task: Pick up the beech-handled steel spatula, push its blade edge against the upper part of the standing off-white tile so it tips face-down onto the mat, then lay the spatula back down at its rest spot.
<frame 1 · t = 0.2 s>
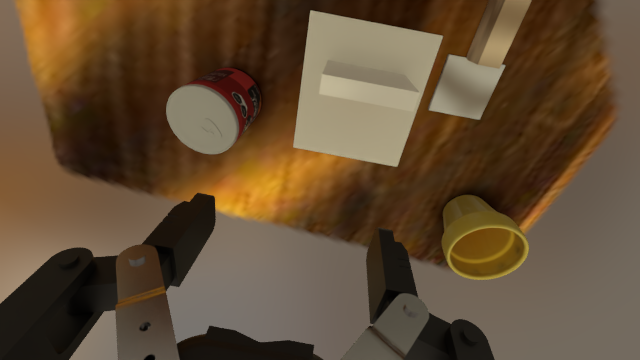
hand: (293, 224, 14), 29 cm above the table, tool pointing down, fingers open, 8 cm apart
canned food: (236, 95, 40), on the table
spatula: (494, 15, 33), on the table
mat: (359, 97, 39), on the table
plant pot: (462, 210, 47), on the table
tile: (364, 75, 37), resting on mat
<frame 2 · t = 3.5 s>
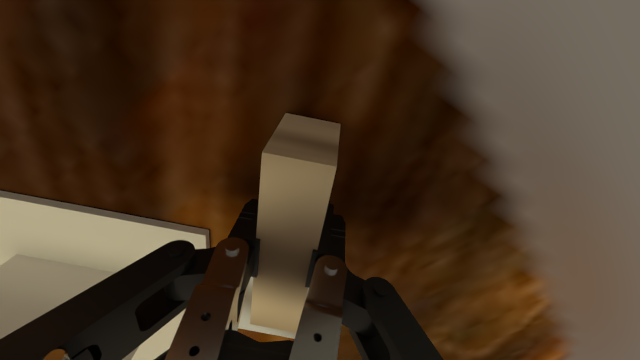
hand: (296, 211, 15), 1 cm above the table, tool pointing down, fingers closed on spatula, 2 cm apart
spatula: (298, 205, 15), on the table, touching gripper
mat: (109, 298, 22), on the table
tile: (94, 277, 20), resting on mat
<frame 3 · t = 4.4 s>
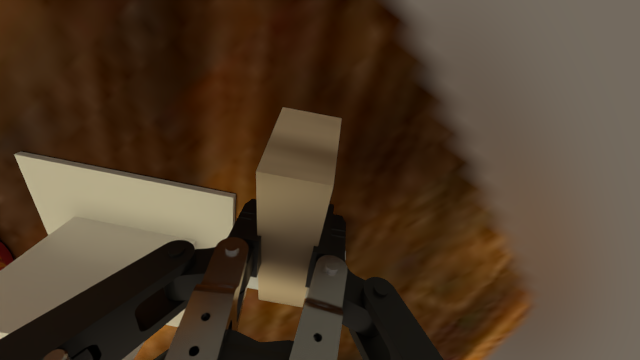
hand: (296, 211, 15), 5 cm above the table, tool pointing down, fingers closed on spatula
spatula: (300, 192, 15), point 4 cm above the table, tilted 14°, touching gripper
mat: (145, 258, 26), on the table
tile: (137, 237, 24), resting on mat
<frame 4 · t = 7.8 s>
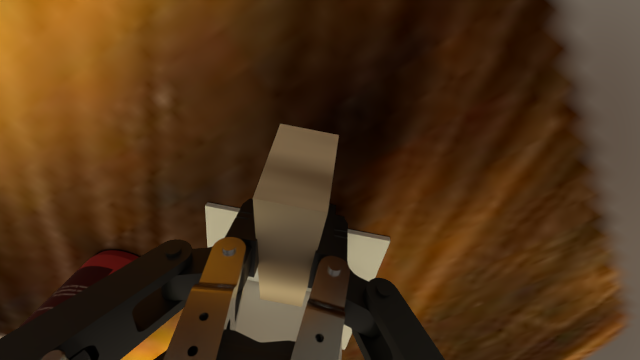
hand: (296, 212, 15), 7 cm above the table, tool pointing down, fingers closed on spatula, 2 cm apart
canned food: (131, 272, 31), on the table
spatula: (299, 199, 16), point 6 cm above the table, tilted 17°, touching gripper
mat: (287, 285, 29), on the table
tile: (290, 270, 27), resting on mat
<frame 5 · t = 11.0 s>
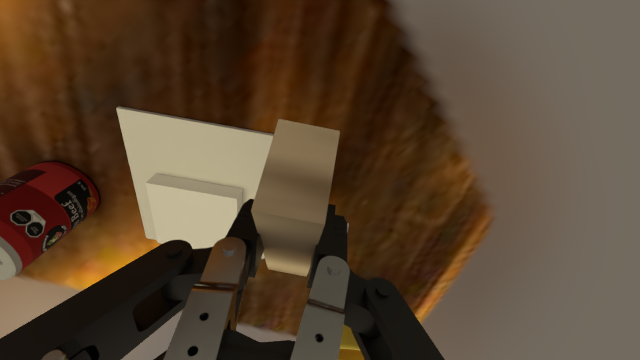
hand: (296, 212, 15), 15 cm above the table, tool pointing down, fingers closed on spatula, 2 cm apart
canned food: (70, 186, 36), on the table
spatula: (303, 182, 16), point 14 cm above the table, tilted 29°, touching gripper
mat: (202, 191, 34), on the table
plant pot: (350, 298, 42), on the table
tile: (195, 185, 32), point 2 cm above the table, tilted 90°, touching mat
when the fingers open (2 cm above the table, at t = 13.8 s): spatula drops 2 cm, on the table.
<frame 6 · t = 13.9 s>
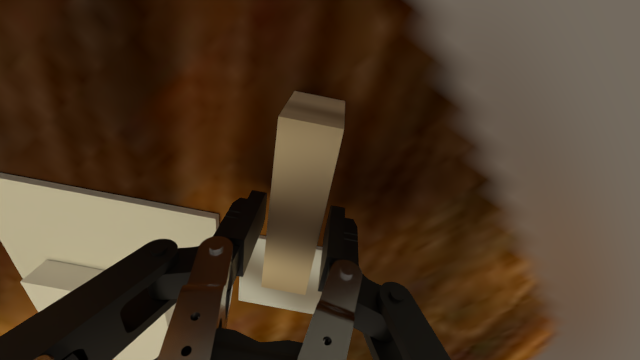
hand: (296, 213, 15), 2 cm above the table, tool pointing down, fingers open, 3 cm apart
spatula: (305, 179, 17), on the table
mat: (122, 282, 23), on the table
tile: (102, 283, 21), point 2 cm above the table, tilted 90°, touching mat
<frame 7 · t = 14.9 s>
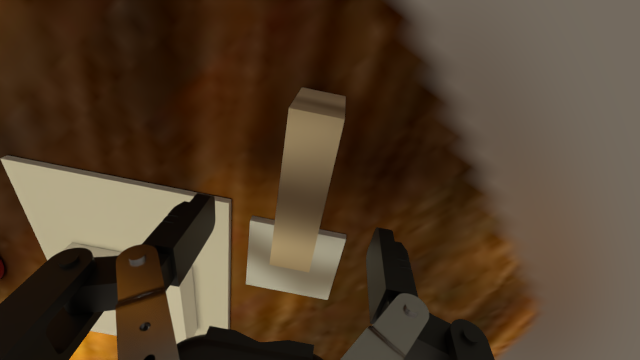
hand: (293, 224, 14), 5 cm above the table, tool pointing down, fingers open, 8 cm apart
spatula: (309, 168, 18), on the table
mat: (139, 264, 25), on the table
tile: (123, 263, 22), point 2 cm above the table, tilted 90°, touching mat
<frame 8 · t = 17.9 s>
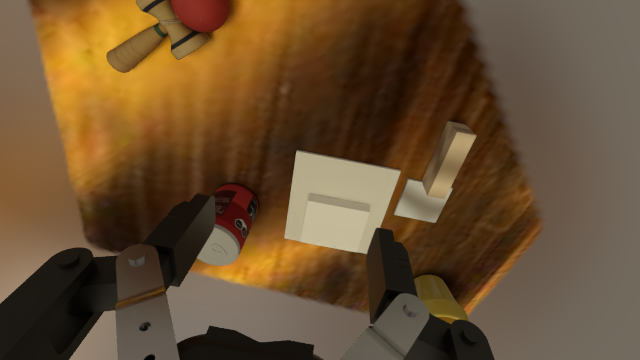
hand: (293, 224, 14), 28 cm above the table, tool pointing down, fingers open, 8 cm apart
kendama: (175, 28, 36), on the table
canned food: (237, 200, 50), on the table
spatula: (442, 154, 42), on the table
mat: (337, 206, 48), on the table
plant pot: (426, 284, 56), on the table
tile: (339, 202, 46), point 2 cm above the table, tilted 90°, touching mat
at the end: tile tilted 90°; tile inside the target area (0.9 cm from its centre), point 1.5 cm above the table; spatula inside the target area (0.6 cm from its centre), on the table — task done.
